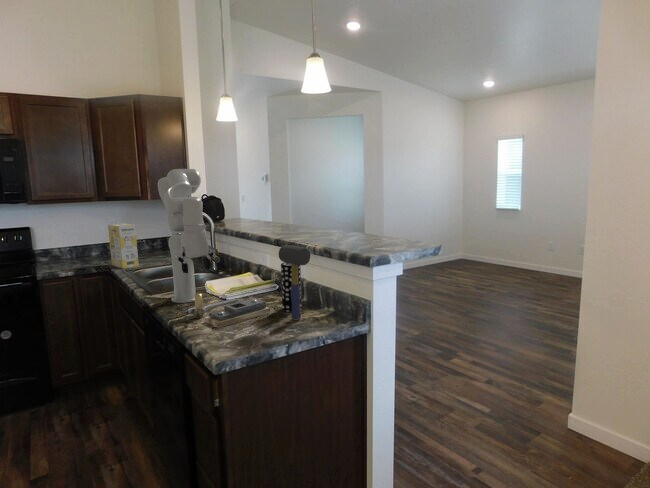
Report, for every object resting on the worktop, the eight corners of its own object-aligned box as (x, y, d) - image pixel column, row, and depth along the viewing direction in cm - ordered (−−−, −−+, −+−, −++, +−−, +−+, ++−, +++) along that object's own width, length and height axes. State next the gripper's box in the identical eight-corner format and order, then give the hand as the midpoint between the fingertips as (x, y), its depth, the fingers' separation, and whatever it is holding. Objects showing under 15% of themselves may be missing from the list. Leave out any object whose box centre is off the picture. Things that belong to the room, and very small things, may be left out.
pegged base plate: (209, 316, 170) (208, 308, 169) (254, 304, 185) (254, 296, 184) (220, 321, 164) (219, 312, 164) (265, 308, 179) (265, 300, 179)
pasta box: (138, 265, 288) (135, 224, 284) (122, 268, 281) (119, 226, 277) (127, 262, 301) (123, 223, 296) (111, 265, 293) (107, 224, 289)
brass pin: (194, 317, 176) (192, 294, 174) (201, 315, 178) (199, 292, 176) (198, 319, 174) (196, 295, 172) (204, 317, 176) (203, 293, 174)
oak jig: (205, 322, 170) (204, 317, 169) (256, 308, 187) (256, 303, 187) (218, 327, 163) (218, 322, 162) (270, 312, 180) (270, 308, 180)
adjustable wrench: (236, 301, 201) (236, 297, 201) (244, 303, 196) (244, 299, 196) (186, 312, 184) (186, 308, 184) (193, 315, 179) (193, 311, 179)
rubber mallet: (279, 318, 172) (276, 245, 168) (293, 314, 178) (290, 243, 173) (299, 325, 164) (297, 248, 159) (313, 320, 169) (311, 245, 164)
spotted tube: (296, 312, 179) (295, 266, 176) (279, 310, 182) (277, 265, 179) (304, 307, 187) (303, 262, 184) (287, 305, 190) (286, 261, 187)
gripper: (208, 226, 179) (210, 266, 181) (168, 230, 167) (172, 273, 169) (217, 227, 173) (220, 268, 176) (177, 231, 161) (180, 275, 164)
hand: (196, 270), depth 172 cm, fingers open, 9 cm apart
